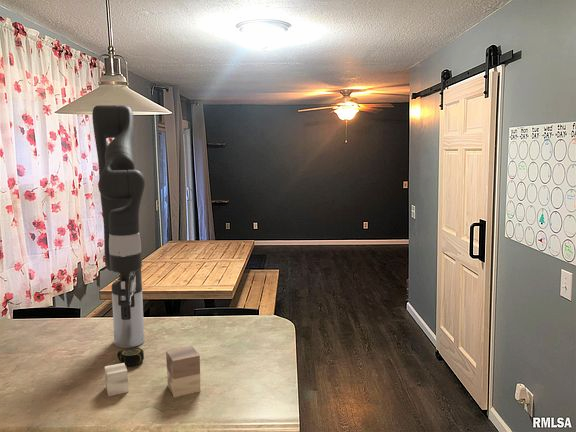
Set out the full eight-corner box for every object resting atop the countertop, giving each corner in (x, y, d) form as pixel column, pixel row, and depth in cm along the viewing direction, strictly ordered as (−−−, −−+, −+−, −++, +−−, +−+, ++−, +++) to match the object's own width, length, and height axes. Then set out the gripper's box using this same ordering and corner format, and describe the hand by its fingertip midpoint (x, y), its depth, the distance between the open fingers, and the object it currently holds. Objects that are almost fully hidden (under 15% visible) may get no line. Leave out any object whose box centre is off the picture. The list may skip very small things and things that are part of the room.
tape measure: (140, 356, 151) (140, 344, 151) (146, 364, 146) (146, 352, 145) (117, 361, 148) (116, 349, 147) (122, 370, 142) (122, 358, 141)
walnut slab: (166, 368, 133) (166, 350, 132) (192, 362, 136) (191, 345, 135) (173, 379, 126) (172, 360, 126) (200, 373, 130) (199, 355, 129)
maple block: (105, 387, 132) (104, 366, 131) (125, 383, 134) (124, 362, 133) (108, 396, 128) (106, 374, 127) (128, 392, 130) (127, 370, 129)
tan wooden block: (167, 385, 133) (166, 368, 133) (193, 380, 136) (192, 363, 136) (174, 397, 127) (173, 379, 126) (200, 391, 130) (200, 373, 130)
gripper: (113, 244, 129) (117, 304, 132) (104, 258, 115) (108, 324, 118) (143, 243, 130) (146, 302, 133) (138, 257, 117) (141, 322, 120)
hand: (128, 313), depth 126 cm, fingers open, 8 cm apart
